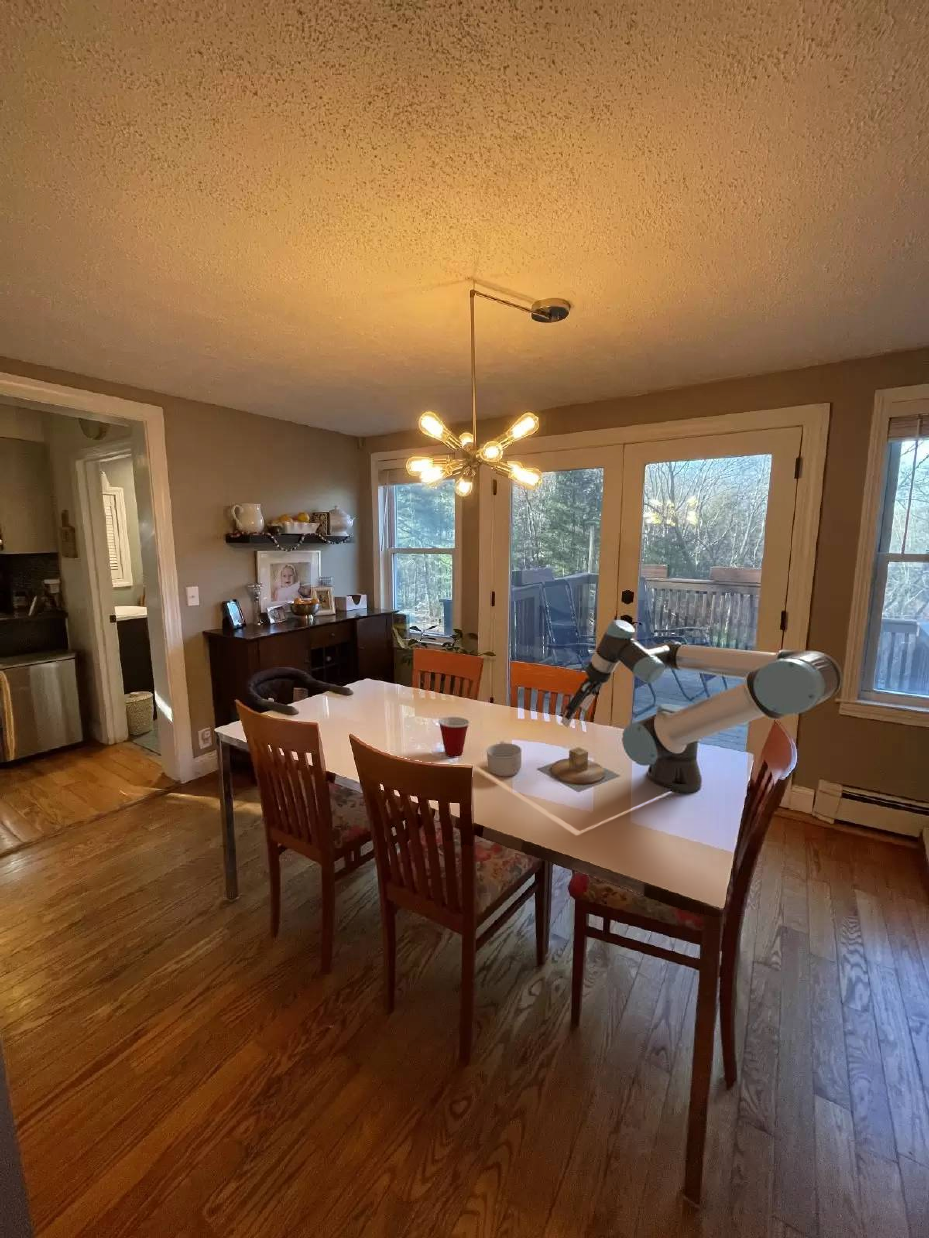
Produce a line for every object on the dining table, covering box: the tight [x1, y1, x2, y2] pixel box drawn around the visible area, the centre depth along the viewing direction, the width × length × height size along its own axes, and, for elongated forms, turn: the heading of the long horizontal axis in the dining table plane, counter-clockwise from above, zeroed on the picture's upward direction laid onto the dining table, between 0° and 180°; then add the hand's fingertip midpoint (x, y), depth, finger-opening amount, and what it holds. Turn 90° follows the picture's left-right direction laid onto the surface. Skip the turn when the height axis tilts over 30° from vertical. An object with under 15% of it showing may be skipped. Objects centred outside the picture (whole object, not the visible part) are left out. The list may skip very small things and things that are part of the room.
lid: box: [552, 747, 605, 784], centre depth 159 cm, size 16×16×7 cm
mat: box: [536, 762, 621, 793], centre depth 159 cm, size 18×18×1 cm
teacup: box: [486, 740, 523, 777], centre depth 162 cm, size 14×11×8 cm
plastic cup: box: [437, 716, 471, 758], centre depth 175 cm, size 11×11×12 cm
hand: (574, 715), depth 167 cm, fingers open, 13 cm apart
